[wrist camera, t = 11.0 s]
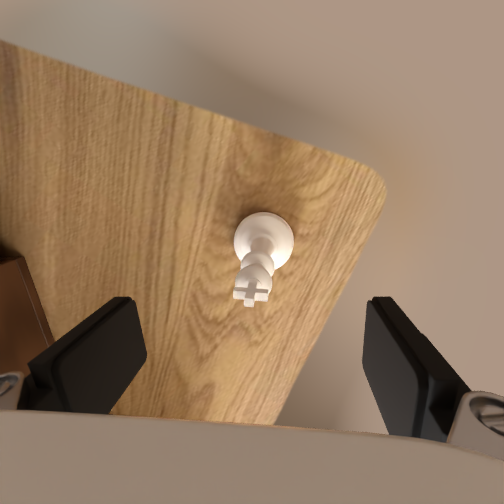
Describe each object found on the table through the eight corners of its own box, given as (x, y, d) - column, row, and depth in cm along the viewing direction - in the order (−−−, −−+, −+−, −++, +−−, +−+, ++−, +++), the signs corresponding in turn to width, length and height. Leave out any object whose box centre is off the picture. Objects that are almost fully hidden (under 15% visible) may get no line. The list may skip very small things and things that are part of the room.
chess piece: (291, 271, 22) (297, 351, 12) (234, 267, 22) (198, 341, 13) (296, 213, 20) (308, 256, 11) (234, 210, 21) (194, 248, 11)
